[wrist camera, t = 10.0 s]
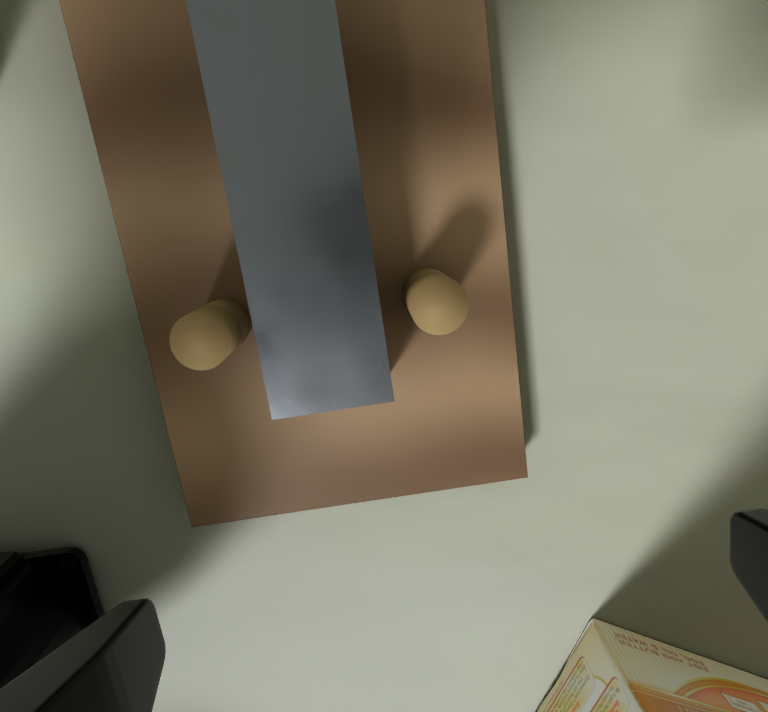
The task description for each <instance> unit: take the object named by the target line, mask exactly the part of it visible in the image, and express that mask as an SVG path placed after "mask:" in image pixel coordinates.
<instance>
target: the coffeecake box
mask: <svg viewBox="0 0 768 712" xmlns="http://www.w3.org/2000/svg"><path fill="white" fill-rule="evenodd" d="M537 712H768V680H767V679H764V678H761V677H759V676H756V675H753V674H750V673H747V672H745V671H742V670H739V669H736V668H733V667H730V666H728V665H725V664H722V663H719V662H716V661H713V660H710V659H708V658H705V657H702V656H699V655H696V654H693V653H690V652H688V651H685V650H682V649H679V648H676V647H673V646H670V645H668V644H665V643H662V642H659V641H656V640H653V639H651V638H648V637H645V636H642V635H639V634H637V633H634V632H631V631H628V630H625V629H623V628H620V627H617V626H614V625H611V624H608V623H606V622H603V621H600V620H597V619H594V618H593V619H591V620H590V622H589V624H588V625H587V627H586V628H585V630H584V632H583V633H582V635H581V637H580V639H579V640H578V642H577V644H576V646H575V647H574V649H573V651H572V652H571V654H570V656H569V658H568V660H567V663H566V665H565V667H564V669H563V671H562V673H561V675H560V677H559V679H558V680H557V682H556V684H555V685H554V687H553V688H552V689H551V691H550V692H549V694H548V695H547V697H546V698H545V699H544V701H543V702H542V704H541V705H540V707H539V709H538V711H537Z"/></svg>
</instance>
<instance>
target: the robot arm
mask: <svg viewBox="0 0 768 712" xmlns="http://www.w3.org/2000/svg"><path fill="white" fill-rule="evenodd" d="M67 559H71V560H73V561H74V563H75V564H71V563H69V562H68V561H67ZM730 562H731V566H732V569H733V572H734V574H735V575H736V577H737V579H738V580H739V582H740V583H741V584H742V586H743V587H744V589H745V590H746V592H747V593H748V595H749V596H750V598H751V599H752V600H753V602H754V603H755V605H756V606H757V608H758V609H759V611H760V612H761V613H762V615H763V616H764V618H765V619H766V621H767V622H768V510H767V509H763V508H755V509H748V510H741V511H736V512H735V513H734V514H732V516H731V519H730ZM164 660H165V642H164V638H163V634H162V631H161V627H160V624H159V620H158V616H157V613H156V609H155V606H154V604H153V602H152V601H151V600H149V599H147V598H145V599H138V600H131V601H125V602H122V603H120V604H119V605H117V606H116V607H114V608H113V609H112V610H110V611H109V612H107V613H106V614H105V615H104V612H103V609H102V606H101V603H100V599H99V596H98V593H97V590H96V586H95V583H94V580H93V576H92V573H91V570H90V567H89V563H88V560H87V557H86V555H85V553H84V552H83V551H82V550H81V549H79V548H76V547H65V548H59V549H52V550H45V551H38V552H32V553H25V554H22V553H19V552H15V551H12V552H6V553H0V712H152V709H153V705H154V701H155V697H156V693H157V689H158V685H159V681H160V677H161V673H162V669H163V665H164Z"/></svg>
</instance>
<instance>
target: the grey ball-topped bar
mask: <svg viewBox="0 0 768 712" xmlns="http://www.w3.org/2000/svg"><path fill="white" fill-rule="evenodd" d="M186 4H187V9H188V14H189V18H190V23H191V28H192V33H193V38H194V43H195V48H196V52H197V57H198V62H199V67H200V72H201V77H202V82H203V86H204V91H205V96H206V101H207V106H208V111H209V116H210V121H211V125H212V130H213V135H214V140H215V145H216V150H217V155H218V159H219V164H220V169H221V174H222V179H223V184H224V189H225V193H226V198H227V203H228V208H229V213H230V218H231V223H232V227H233V232H234V237H235V242H236V247H237V252H238V257H239V262H240V266H241V271H242V276H243V281H244V286H245V291H246V296H247V300H248V305H249V310H250V315H251V320H252V325H253V330H254V334H255V339H256V344H257V349H258V354H259V359H260V364H261V368H262V373H263V378H264V383H265V388H266V393H267V398H268V403H269V407H270V412H271V417H272V420H275V419H281V418H288V417H295V416H301V415H308V414H315V413H321V412H328V411H334V410H341V409H348V408H354V407H361V406H368V405H374V404H381V403H388V402H394V401H395V400H394V394H393V387H392V380H391V373H390V367H389V360H388V353H387V347H386V340H385V333H384V327H383V320H382V313H381V306H380V300H379V293H378V286H377V280H376V273H375V266H374V259H373V253H372V246H371V239H370V233H369V226H368V219H367V213H366V206H365V199H364V192H363V186H362V179H361V172H360V166H359V159H358V152H357V145H356V139H355V132H354V125H353V119H352V112H351V105H350V99H349V92H348V85H347V78H346V72H345V65H344V58H343V52H342V45H341V38H340V32H339V25H338V18H337V11H336V5H335V0H186Z"/></svg>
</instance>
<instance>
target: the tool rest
mask: <svg viewBox="0 0 768 712" xmlns="http://www.w3.org/2000/svg"><path fill="white" fill-rule="evenodd" d="M59 1H60V5H61V9H62V13H63V17H64V21H65V25H66V29H67V33H68V37H69V41H70V45H71V49H72V53H73V57H74V61H75V65H76V69H77V73H78V77H79V81H80V85H81V88H82V92H83V96H84V100H85V104H86V108H87V112H88V116H89V120H90V124H91V128H92V132H93V136H94V140H95V144H96V148H97V152H98V156H99V160H100V164H101V168H102V172H103V176H104V180H105V184H106V188H107V192H108V196H109V200H110V204H111V208H112V212H113V216H114V220H115V224H116V228H117V231H118V235H119V239H120V243H121V247H122V251H123V255H124V259H125V263H126V267H127V271H128V275H129V279H130V283H131V287H132V291H133V295H134V299H135V303H136V307H137V311H138V315H139V319H140V323H141V327H142V331H143V335H144V339H145V343H146V347H147V351H148V355H149V359H150V363H151V367H152V370H153V374H154V378H155V382H156V386H157V390H158V394H159V398H160V402H161V406H162V410H163V414H164V418H165V422H166V426H167V430H168V434H169V438H170V442H171V446H172V450H173V454H174V458H175V462H176V466H177V470H178V474H179V478H180V482H181V486H182V490H183V494H184V498H185V502H186V506H187V510H188V513H189V517H190V521H191V525H192V527H196V526H203V525H210V524H216V523H223V522H230V521H236V520H243V519H250V518H257V517H263V516H270V515H277V514H284V513H290V512H297V511H304V510H311V509H317V508H324V507H331V506H338V505H344V504H351V503H358V502H364V501H371V500H378V499H385V498H391V497H398V496H405V495H412V494H418V493H425V492H432V491H439V490H445V489H452V488H459V487H466V486H472V485H479V484H486V483H493V482H499V481H506V480H513V479H519V478H526V477H528V475H527V464H526V453H525V441H524V430H523V419H522V408H521V397H520V386H519V375H518V364H517V353H516V342H515V331H514V320H513V309H512V298H511V287H510V276H509V265H508V254H507V243H506V232H505V221H504V210H503V199H502V188H501V177H500V166H499V155H498V143H497V132H496V121H495V110H494V99H493V88H492V77H491V66H490V55H489V44H488V33H487V22H486V11H485V0H335V5H336V11H337V18H338V25H339V32H340V38H341V45H342V52H343V58H344V65H345V72H346V78H347V85H348V92H349V99H350V105H351V112H352V119H353V125H354V132H355V139H356V145H357V152H358V159H359V166H360V172H361V179H362V186H363V192H364V199H365V206H366V213H367V219H368V226H369V233H370V239H371V246H372V253H373V259H374V266H375V273H376V280H377V286H378V293H379V300H380V306H381V313H382V320H383V327H384V333H385V340H386V347H387V353H388V360H389V367H390V373H391V380H392V387H393V394H394V400H395V401H394V402H388V403H381V404H374V405H368V406H361V407H354V408H348V409H341V410H334V411H328V412H321V413H315V414H308V415H301V416H295V417H288V418H281V419H275V420H272V417H271V412H270V407H269V403H268V398H267V393H266V388H265V383H264V378H263V373H262V368H261V364H260V359H259V354H258V349H257V344H256V339H255V334H254V330H253V325H252V320H251V315H250V310H249V305H248V300H247V296H246V291H245V286H244V281H243V276H242V271H241V266H240V262H239V257H238V252H237V247H236V242H235V237H234V232H233V227H232V223H231V218H230V213H229V208H228V203H227V198H226V193H225V189H224V184H223V179H222V174H221V169H220V164H219V159H218V155H217V150H216V145H215V140H214V135H213V130H212V125H211V121H210V116H209V111H208V106H207V101H206V96H205V91H204V86H203V82H202V77H201V72H200V67H199V62H198V57H197V52H196V48H195V43H194V38H193V33H192V28H191V23H190V18H189V14H188V9H187V4H186V0H59Z"/></svg>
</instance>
